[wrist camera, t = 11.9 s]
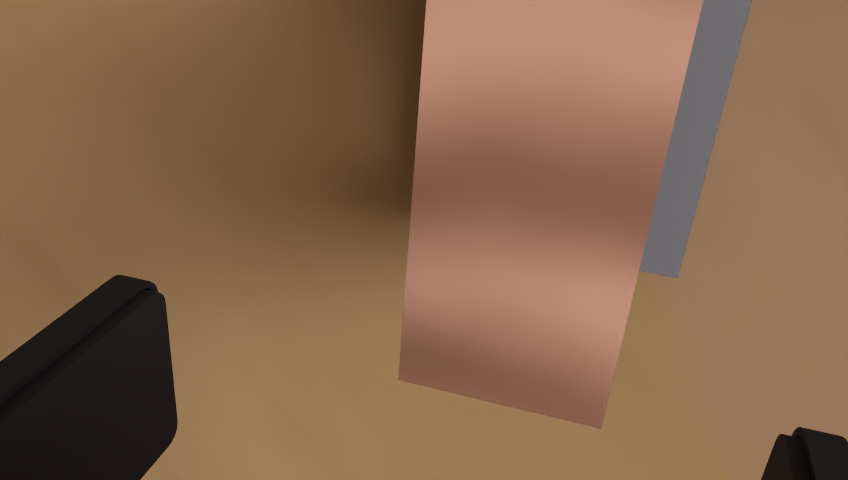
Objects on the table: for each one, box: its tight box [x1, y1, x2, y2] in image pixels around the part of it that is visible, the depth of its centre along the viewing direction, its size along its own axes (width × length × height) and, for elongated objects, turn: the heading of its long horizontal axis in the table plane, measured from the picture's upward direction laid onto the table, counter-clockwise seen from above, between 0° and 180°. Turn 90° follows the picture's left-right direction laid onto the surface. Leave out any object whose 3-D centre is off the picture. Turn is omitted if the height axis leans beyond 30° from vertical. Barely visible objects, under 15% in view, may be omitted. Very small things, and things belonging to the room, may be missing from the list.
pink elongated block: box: [398, 0, 703, 429], centre depth 20 cm, size 14×6×4 cm, turn 176°
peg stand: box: [639, 0, 752, 278], centre depth 26 cm, size 11×16×10 cm
